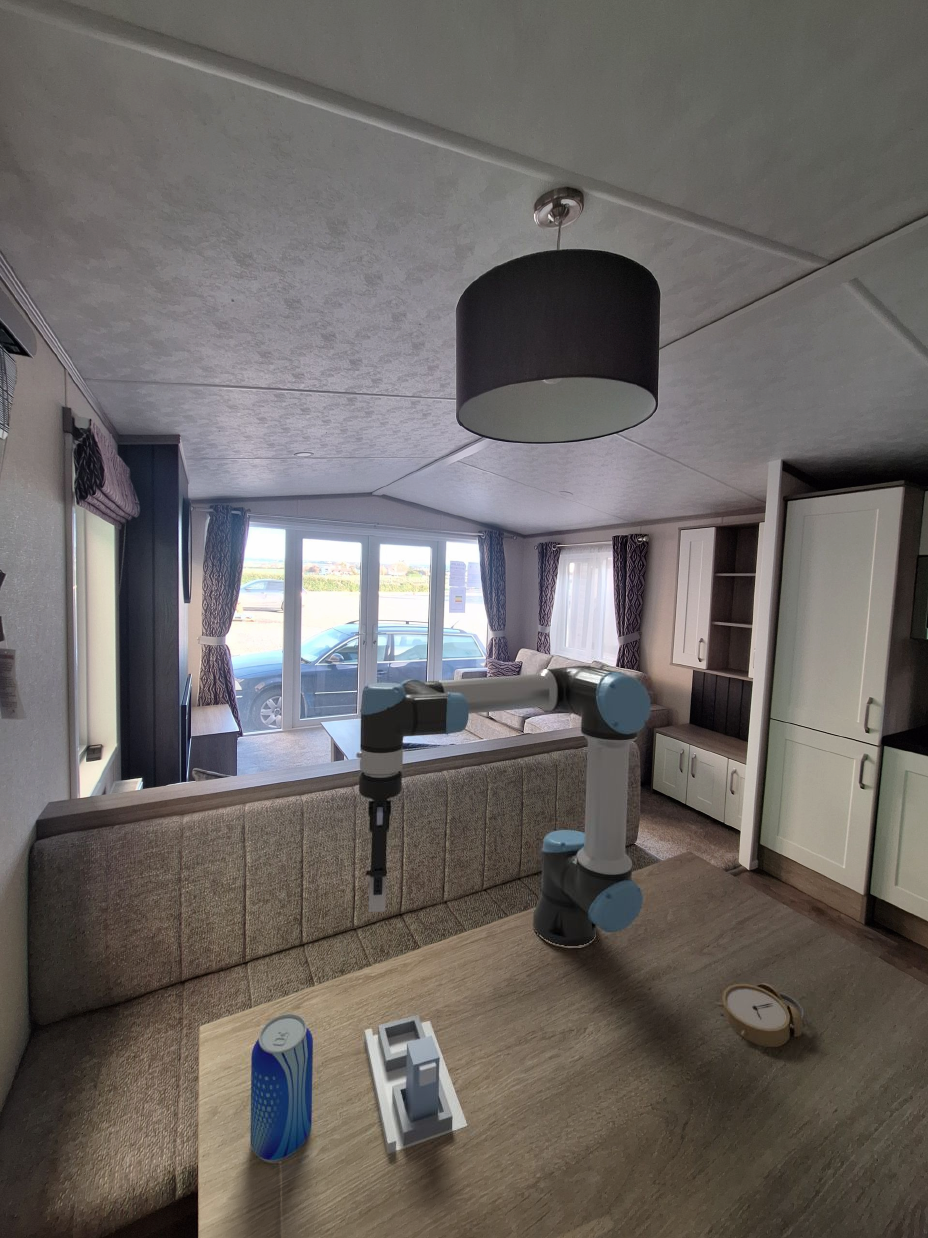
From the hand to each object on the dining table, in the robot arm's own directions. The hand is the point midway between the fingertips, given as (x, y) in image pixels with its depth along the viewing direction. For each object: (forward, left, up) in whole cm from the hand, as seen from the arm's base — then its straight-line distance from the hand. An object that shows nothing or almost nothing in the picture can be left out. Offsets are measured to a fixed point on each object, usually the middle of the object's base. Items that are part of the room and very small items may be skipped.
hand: (377, 887), depth 92 cm
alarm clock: (-71, +21, -28) cm, 79 cm away
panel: (-4, +12, -27) cm, 30 cm away
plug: (-4, +18, -26) cm, 32 cm away
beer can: (+16, +14, -27) cm, 34 cm away
